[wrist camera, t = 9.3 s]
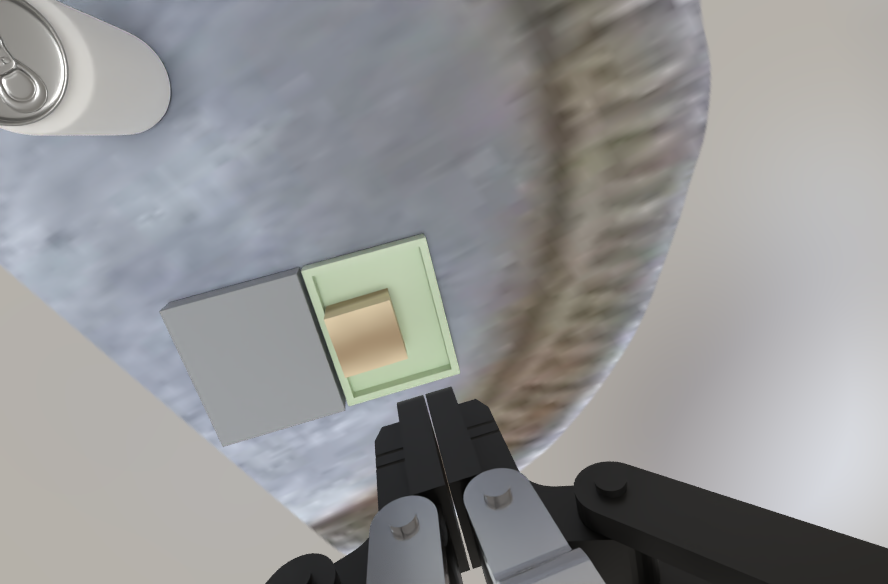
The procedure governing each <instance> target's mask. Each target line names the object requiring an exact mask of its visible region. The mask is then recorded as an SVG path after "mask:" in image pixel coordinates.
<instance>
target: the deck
mask: <svg viewBox="0 0 888 584" xmlns="http://www.w3.org/2000/svg"><path fill="white" fill-rule="evenodd" d="M159 312H160V314H161V316H162V319H163V321H164V323H165V325H166V327H167V329H168V331H169V333H170V336H171V338H172V340H173V342H174V344H175V346H176V348H177V350H178V353H179V355H180V357H181V359H182V361H183V363H184V365H185V367H186V370H187V372H188V374H189V376H190V378H191V380H192V382H193V384H194V387H195V389H196V391H197V393H198V395H199V397H200V399H201V401H202V404H203V406H204V408H205V410H206V412H207V414H208V416H209V418H210V421H211V423H212V425H213V427H214V429H215V431H216V433H217V435H218V438H219V440H220V442H221V444H222V446H223V447H224V446H228V445H231V444H235V443H238V442H241V441H245V440H248V439H251V438H255V437H258V436H261V435H265V434H268V433H271V432H275V431H278V430H282V429H285V428H288V427H292V426H295V425H298V424H302V423H305V422H308V421H312V420H315V419H319V418H322V417H325V416H329V415H332V414H335V413H339V412H342V411H345V402H346V398H345V395H344V392H343V389H342V386H341V384H340V381H339V378H338V375H337V372H336V369H335V367H334V364H333V361H332V358H331V355H330V352H329V350H328V347H327V344H326V341H325V338H324V335H323V333H322V330H321V327H320V324H319V321H318V318H317V316H316V313H315V310H314V307H313V304H312V301H311V299H310V296H309V293H308V290H307V287H306V284H305V282H304V279H303V276H302V273H301V270H300V267H298V268H295V269H291V270H287V271H283V272H280V273H276V274H272V275H269V276H265V277H261V278H258V279H254V280H250V281H247V282H243V283H239V284H236V285H232V286H228V287H225V288H221V289H217V290H214V291H210V292H206V293H203V294H199V295H195V296H192V297H188V298H184V299H180V300H177V301H173V302H169V303H168V304H167V305H166V306H165V307H164V308H163V309H162V310H160V311H159Z"/></svg>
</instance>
